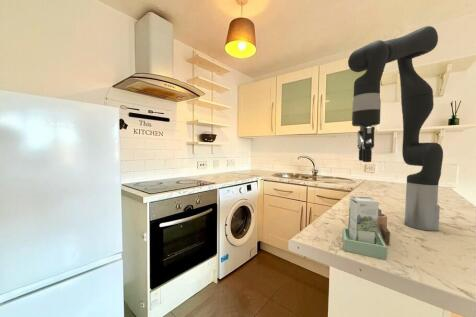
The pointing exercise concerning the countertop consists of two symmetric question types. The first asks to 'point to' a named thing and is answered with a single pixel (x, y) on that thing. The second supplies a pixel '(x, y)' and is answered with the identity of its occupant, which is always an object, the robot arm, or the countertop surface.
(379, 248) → the trough
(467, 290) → the countertop surface
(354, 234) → the syrup box
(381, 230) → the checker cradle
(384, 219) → the cup
